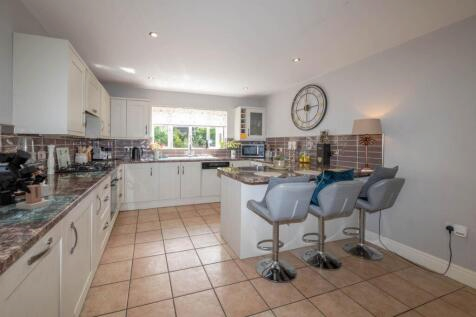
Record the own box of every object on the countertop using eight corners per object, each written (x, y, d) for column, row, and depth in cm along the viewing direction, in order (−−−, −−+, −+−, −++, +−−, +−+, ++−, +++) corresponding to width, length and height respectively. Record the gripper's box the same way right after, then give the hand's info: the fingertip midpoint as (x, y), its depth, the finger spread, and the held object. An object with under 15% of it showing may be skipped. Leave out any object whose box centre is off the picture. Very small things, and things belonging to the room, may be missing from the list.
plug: (26, 204, 120) (25, 186, 120) (35, 202, 125) (34, 184, 124) (32, 205, 119) (31, 186, 118) (41, 203, 124) (41, 185, 123)
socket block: (16, 208, 118) (16, 203, 118) (37, 203, 128) (36, 198, 128) (31, 209, 116) (30, 205, 116) (51, 204, 126) (50, 200, 126)
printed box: (28, 197, 141) (27, 178, 140) (41, 194, 148) (40, 176, 147) (36, 198, 139) (35, 179, 138) (49, 195, 146) (48, 177, 145)
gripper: (4, 162, 112) (22, 185, 110) (44, 159, 130) (60, 179, 129) (-7, 177, 114) (11, 200, 113) (34, 172, 132) (50, 191, 131)
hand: (35, 191), depth 121 cm, fingers closed on plug, 4 cm apart
